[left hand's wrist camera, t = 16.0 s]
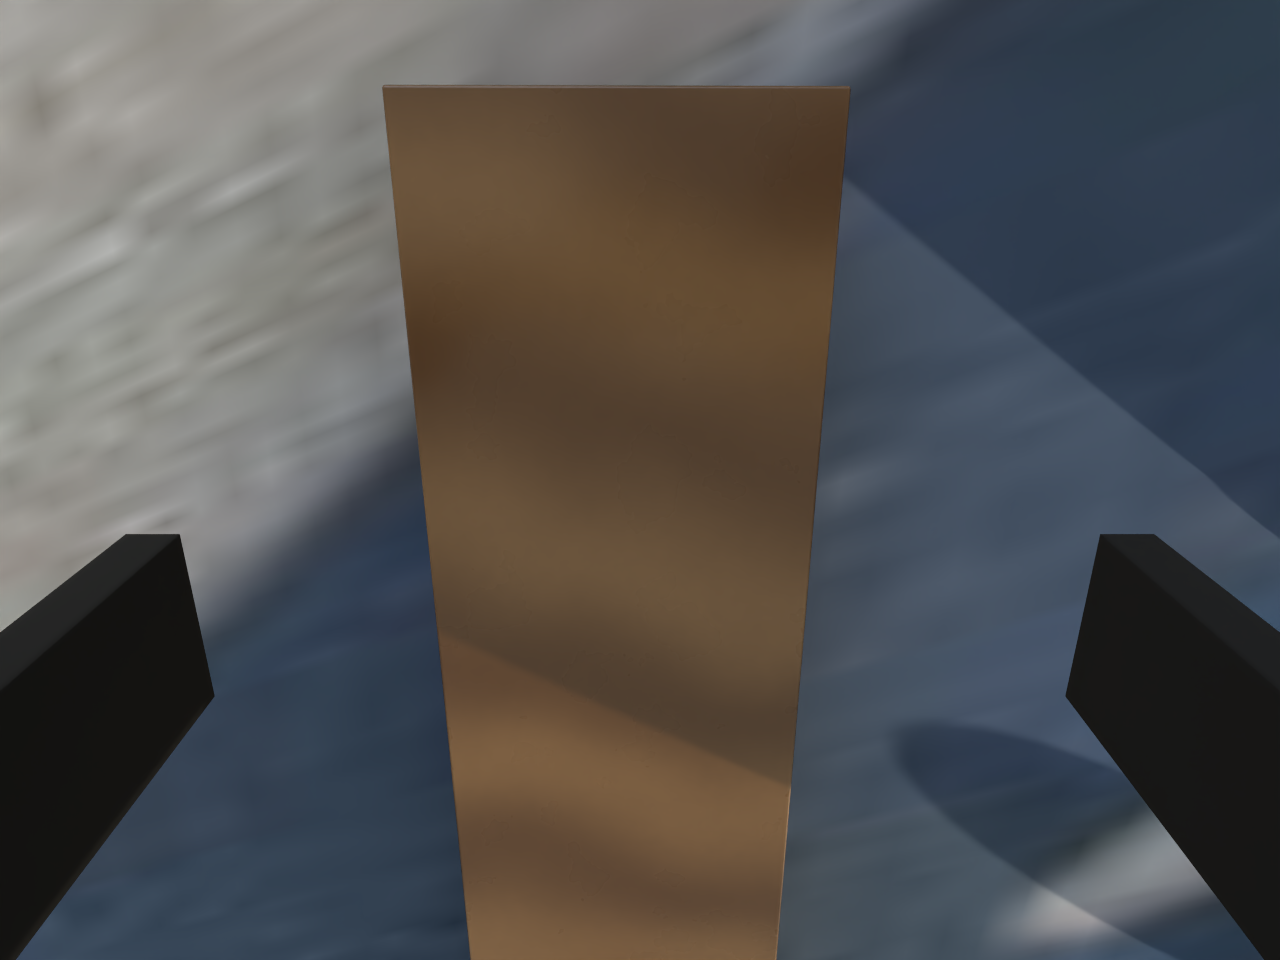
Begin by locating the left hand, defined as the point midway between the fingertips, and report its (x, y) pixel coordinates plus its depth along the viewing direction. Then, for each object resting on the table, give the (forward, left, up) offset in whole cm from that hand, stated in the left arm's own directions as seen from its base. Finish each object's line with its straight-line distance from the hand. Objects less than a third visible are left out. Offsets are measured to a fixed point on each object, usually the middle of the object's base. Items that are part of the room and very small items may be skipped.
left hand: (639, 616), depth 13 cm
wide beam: (+11, +33, -15) cm, 38 cm away
